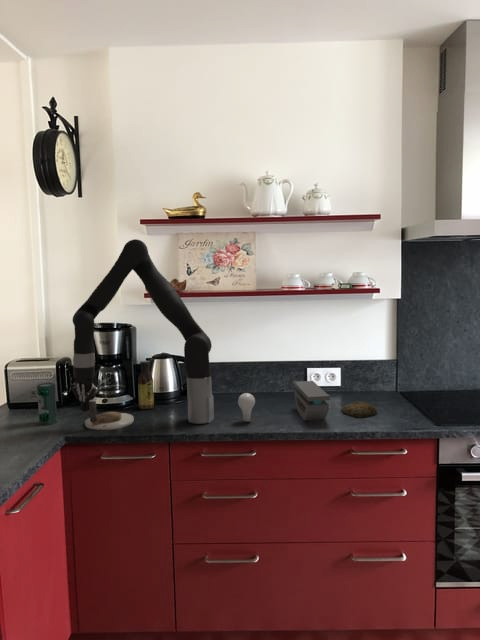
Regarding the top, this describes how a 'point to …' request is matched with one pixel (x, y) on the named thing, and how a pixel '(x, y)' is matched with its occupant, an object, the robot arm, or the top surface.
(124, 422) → the dial base
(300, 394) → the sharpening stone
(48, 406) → the green patterned block
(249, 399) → the lightbulb
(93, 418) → the brown disc with handle
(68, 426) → the top surface
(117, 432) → the top surface
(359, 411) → the bread roll
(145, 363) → the sauce bottle
